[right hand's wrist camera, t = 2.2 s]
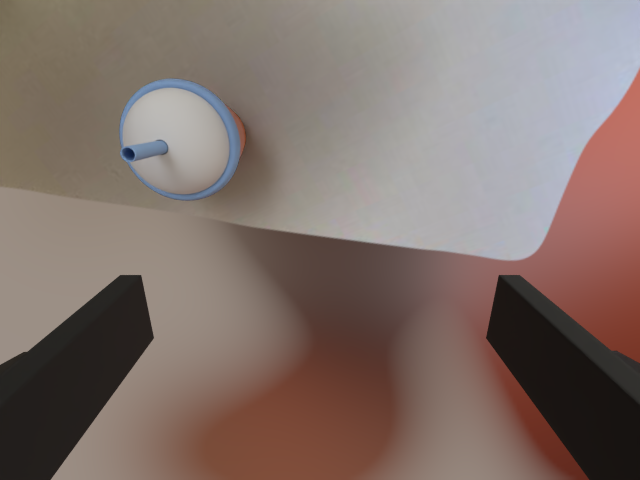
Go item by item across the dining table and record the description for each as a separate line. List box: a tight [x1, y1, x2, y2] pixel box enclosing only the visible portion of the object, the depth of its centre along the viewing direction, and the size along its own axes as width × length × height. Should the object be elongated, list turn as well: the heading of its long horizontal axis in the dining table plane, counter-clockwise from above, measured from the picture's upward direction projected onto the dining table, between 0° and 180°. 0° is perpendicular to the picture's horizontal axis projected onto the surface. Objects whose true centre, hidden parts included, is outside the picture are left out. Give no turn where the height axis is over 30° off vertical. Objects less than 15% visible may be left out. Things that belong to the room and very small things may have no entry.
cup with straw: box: [119, 79, 246, 201], centre depth 28 cm, size 9×9×18 cm
